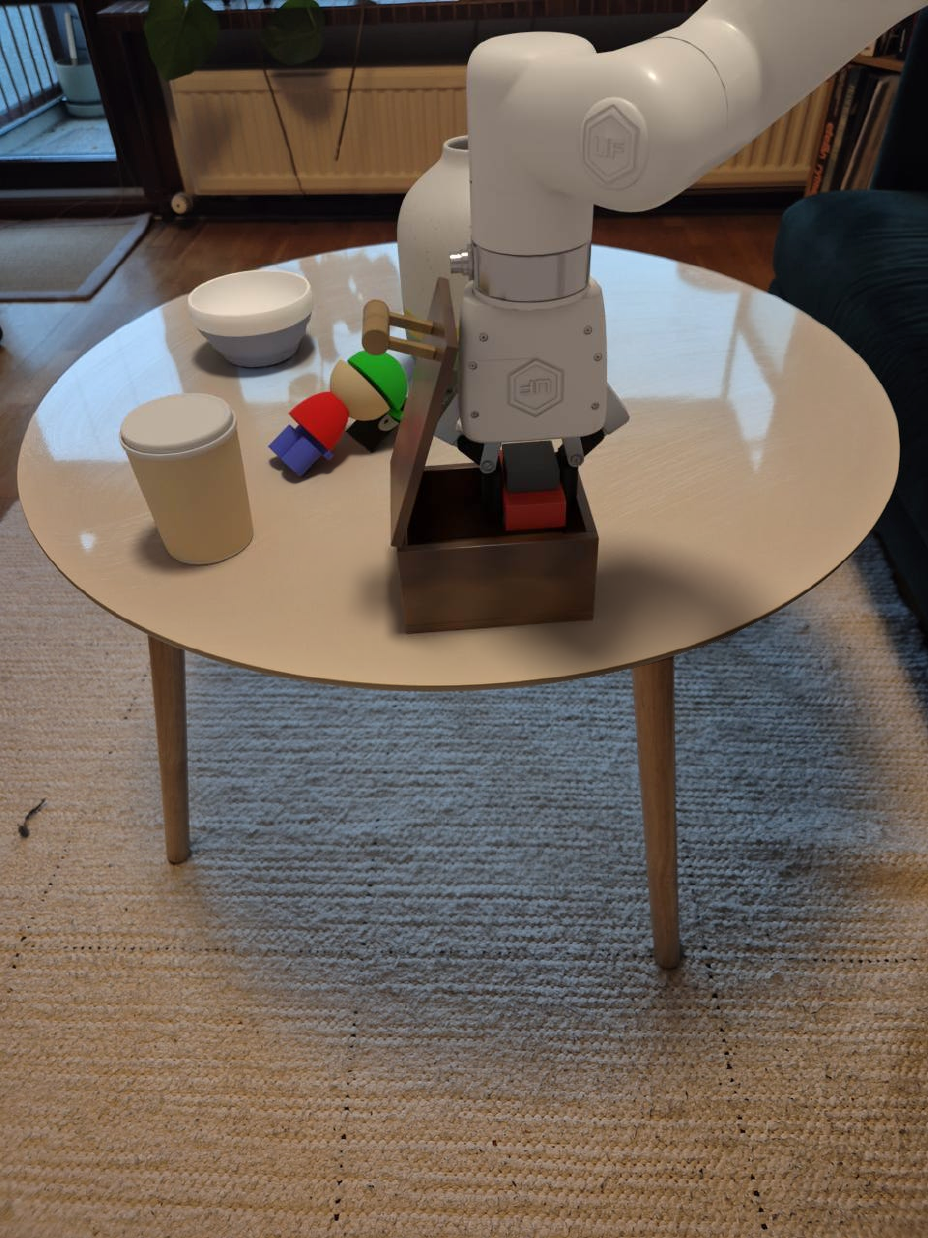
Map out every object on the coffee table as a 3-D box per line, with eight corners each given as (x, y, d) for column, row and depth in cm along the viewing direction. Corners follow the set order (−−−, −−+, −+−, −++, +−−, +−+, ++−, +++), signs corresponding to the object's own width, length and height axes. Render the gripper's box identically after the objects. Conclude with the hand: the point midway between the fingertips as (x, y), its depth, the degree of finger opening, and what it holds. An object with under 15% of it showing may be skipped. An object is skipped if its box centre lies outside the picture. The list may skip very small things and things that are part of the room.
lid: (449, 278, 63) (371, 258, 61) (459, 348, 54) (368, 325, 53) (399, 463, 72) (331, 449, 71) (401, 548, 63) (323, 533, 62)
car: (566, 534, 66) (568, 480, 63) (504, 539, 66) (503, 485, 63) (551, 477, 72) (552, 425, 69) (494, 481, 72) (493, 429, 69)
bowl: (218, 330, 115) (204, 270, 110) (329, 327, 114) (320, 267, 109) (187, 381, 104) (170, 318, 99) (310, 378, 103) (299, 314, 98)
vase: (516, 332, 110) (516, 113, 94) (583, 387, 98) (595, 148, 82) (388, 360, 106) (365, 136, 90) (442, 422, 94) (426, 175, 78)
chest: (570, 532, 78) (573, 454, 73) (593, 619, 69) (599, 537, 64) (403, 545, 77) (395, 467, 72) (406, 633, 69) (396, 552, 63)
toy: (334, 509, 88) (437, 400, 88) (285, 463, 82) (396, 346, 82) (296, 473, 94) (393, 370, 94) (247, 427, 88) (352, 318, 88)
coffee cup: (218, 498, 84) (187, 380, 76) (284, 532, 80) (258, 410, 72) (135, 545, 79) (92, 424, 71) (200, 584, 74) (162, 459, 66)
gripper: (399, 296, 54) (422, 542, 66) (676, 278, 54) (648, 525, 66) (398, 254, 59) (419, 487, 71) (649, 237, 60) (627, 472, 72)
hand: (529, 503), depth 68 cm, fingers closed on car, 4 cm apart
